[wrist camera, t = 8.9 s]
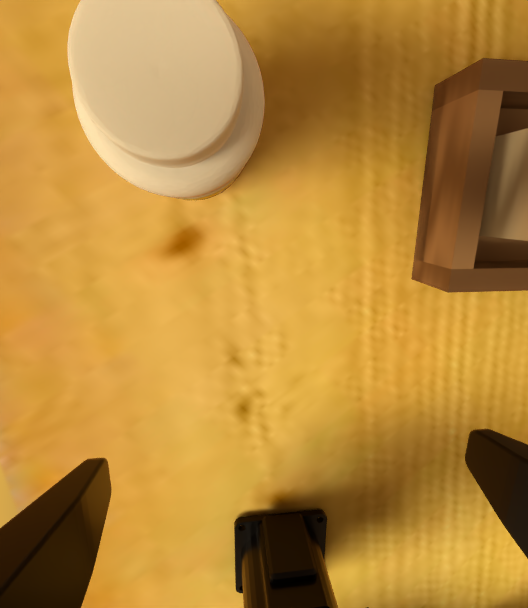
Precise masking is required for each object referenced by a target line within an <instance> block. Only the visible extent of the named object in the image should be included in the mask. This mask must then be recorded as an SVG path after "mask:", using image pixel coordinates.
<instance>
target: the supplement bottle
mask: <svg viewBox="0 0 528 608" xmlns="http://www.w3.org/2000/svg"><path fill="white" fill-rule="evenodd" d="M68 64H69V69H70V74H71V79H72V86H73V95H74V102H75V107H76V111H77V114H78V117H79V120H80V123H81V125H82V128H83V130H84V132H85V134H86V136H87V138H88V140H89V141H90V143H91V145H92V146H93V148H94V149H95V150H96V152H97V153H98V154H99V156H100V157H101V158H102V159H103V160H104V162H105V163H106V164H107V165H108V166H109V167H110V168H111V169H112V170H113V171H115V172H116V173H117V174H118V175H119V176H121V177H122V178H124V179H125V180H127V181H128V182H130V183H131V184H133V185H135V186H137V187H139V188H141V189H143V190H146V191H148V192H151V193H154V194H158V195H161V196H167V197H174V198H179V199H185V200H203V199H207V198H211V197H213V196H216V195H218V194H219V193H222V192H223V191H224V190H226V189H227V188H228V187H229V186H230V185H231V184H232V183H233V182H234V181H235V179H236V178H237V177H238V175H239V174H240V172H241V171H242V169H243V168H244V166H245V165H246V163H247V161H248V160H249V158H250V157H251V155H252V153H253V151H254V149H255V147H256V145H257V142H258V139H259V136H260V133H261V129H262V124H263V118H264V107H265V98H264V87H263V81H262V76H261V72H260V68H259V65H258V62H257V59H256V57H255V54H254V52H253V50H252V48H251V46H250V44H249V42H248V41H247V39H246V37H245V36H244V34H243V33H242V31H241V30H240V29H239V27H238V26H237V25H236V24H235V23H234V22H233V20H232V19H231V18H230V17H229V16H228V15H227V14H226V13H225V12H224V10H223V9H222V7H221V6H220V5H219V3H218V2H217V1H216V0H81V1H80V3H79V4H78V6H77V9H76V11H75V13H74V16H73V19H72V22H71V26H70V30H69V37H68Z"/></svg>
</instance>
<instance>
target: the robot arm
mask: <svg viewBox="0 0 528 608" xmlns="http://www.w3.org/2000/svg"><path fill="white" fill-rule="evenodd" d="M465 461H466V464H467V467H468V468H469V470H470V472H471V473H472V475H473V477H474V478H475V480H476V481H477V483H478V485H479V486H480V488H481V490H482V491H483V493H484V494H485V496H486V498H487V499H488V501H489V503H490V504H491V506H492V507H493V509H494V511H495V512H496V514H497V516H498V517H499V519H500V520H501V522H502V523H503V525H504V526H505V528H506V529H507V531H508V532H509V533H510V535H511V536H512V538H513V539H514V540H515V542H516V543H517V545H518V546H519V547H520V549H521V550H522V551H523V553H524V554H525V555H526V557H527V558H528V445H527V444H524V443H522V442H520V441H517V440H515V439H512V438H510V437H507V436H505V435H502V434H500V433H498V432H495V431H493V430H490V429H475V430H472V431H471V432H470V434H469V438H468V443H467V449H466V454H465ZM110 498H111V482H110V474H109V467H108V462H107V459H105V458H93V459H87V460H85V461H84V462H83V463H81V464H80V465H79V466H78V467H76V468H75V469H74V470H73V471H71V472H70V473H69V474H68V475H66V476H65V477H64V478H63V479H61V480H60V481H59V482H58V483H56V484H55V485H54V486H53V487H51V488H50V489H49V490H48V491H46V492H45V493H44V494H42V495H41V496H40V497H39V498H37V499H36V500H35V501H34V502H32V503H31V504H30V505H29V506H27V507H26V508H25V509H24V510H22V511H21V512H20V513H19V514H17V515H16V516H15V517H14V518H12V519H11V520H10V521H9V522H7V523H6V524H5V525H4V526H2V527H1V528H0V608H81V606H82V603H83V600H84V597H85V594H86V591H87V588H88V585H89V582H90V579H91V576H92V573H93V569H94V565H95V561H96V557H97V553H98V549H99V545H100V540H101V536H102V532H103V528H104V524H105V519H106V515H107V511H108V507H109V502H110ZM318 517H320V518H318ZM326 524H327V517H326V514H325V512H324V511H323V510H320V509H318V510H308V511H298V512H289V513H279V514H269V515H259V516H250V517H241V518H238V519H236V521H235V523H234V529H235V577H236V591H237V592H239V593H243V599H244V608H338V606H337V602H336V599H335V596H334V592H333V589H332V586H331V582H330V579H329V576H328V572H327V569H326V566H325V562H324V554H325V539H326ZM241 525H243V526H241ZM367 608H369V607H367Z"/></svg>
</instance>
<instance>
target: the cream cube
mask: <svg viewBox="0 0 528 608" xmlns="http://www.w3.org/2000/svg"><path fill="white" fill-rule="evenodd" d="M479 236H486V237H496V238H505V239H514V240H524V241H528V128H527V129H523V130H519V131H515V132H511V133H508V134H504V135H500V136H496V137H495V143H494V149H493V155H492V161H491V167H490V173H489V179H488V185H487V191H486V197H485V203H484V209H483V215H482V221H481V227H480V232H479Z"/></svg>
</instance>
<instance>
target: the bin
mask: <svg viewBox="0 0 528 608" xmlns="http://www.w3.org/2000/svg"><path fill="white" fill-rule="evenodd" d="M527 128H528V61H518V60H502V59H487V58H483V59H481V60H479V61H478V62H476V63H474V64H472V65H471V66H469V67H467V68H465V69H464V70H462V71H460V72H458V73H456V74H455V75H453V76H451V77H449V78H448V79H446V80H444V81H442V82H441V83H439V84H437V85H435V90H434V98H433V107H432V115H431V123H430V131H429V140H428V148H427V156H426V164H425V173H424V181H423V189H422V197H421V206H420V214H419V222H418V230H417V239H416V247H415V255H414V264H413V272H412V279H413V280H416V281H418V282H421V283H424V284H427V285H429V286H432V287H435V288H437V289H440V290H443V291H446V292H483V291H522V290H528V241H524V240H514V239H505V238H496V237H486V236H479V232H480V227H481V221H482V215H483V209H484V203H485V197H486V191H487V185H488V179H489V173H490V167H491V161H492V155H493V149H494V143H495V137H496V136H500V135H504V134H508V133H511V132H515V131H519V130H523V129H527Z"/></svg>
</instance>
